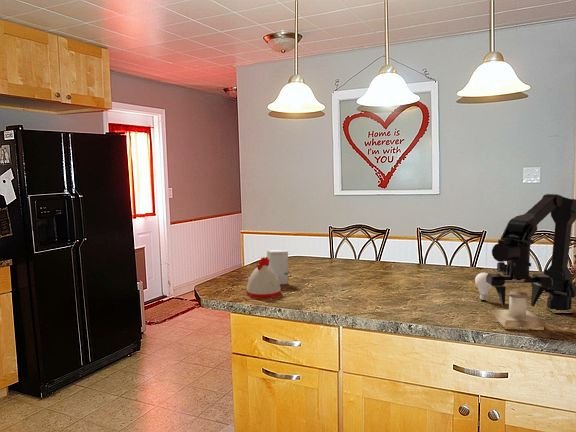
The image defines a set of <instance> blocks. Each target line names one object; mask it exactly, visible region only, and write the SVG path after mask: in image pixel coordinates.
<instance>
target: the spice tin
mask: <svg viewBox="0 0 576 432" xmlns="http://www.w3.org/2000/svg"><path fill="white" fill-rule="evenodd" d="M527 298H528V293H527V292H525V291H523V292H522V291H516V290H515V291H514V290H513V291H509V298H508V299H509V303H508V310H509V315H511V316H513V317H526V310H527V304H528V303H527V302H528V299H527Z"/></svg>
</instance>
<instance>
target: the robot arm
mask: <svg viewBox="0 0 576 432" xmlns="http://www.w3.org/2000/svg"><path fill="white" fill-rule="evenodd" d="M549 214H550V217H551V218H552V219H551V220H553V223H554V233H553V243H552V253H551V262H550V263H551V264H550V266H549V267H548V268H547V269H544V271H543V273H533V274H532V276H531V275H530V267H532V263H531V262H530V260H531V259H530V257H531V245H532V244H534V243H535V241H534V240H533V239H531V238H533V236H534V235H535V234H536V232H537V231H538V225H539V223H541V222H542V221H543V220H544V219H545V218H546V217H548V215H549ZM575 222H576V199H575V198H568V197H565V196H562V195H560V194H557V193H556V194H554V193H546V194H543V196H542V197H541V199H540V200H539V201H537V203H535V205H533V206H532V207H530V209H529V210H528V211H526V212H525V213H523V214H519V215H516V216H514V217H513V218H511V219H510V220H509V221H508V223H507V225H506V227H504V228H505V229H504V231H503V233H502V235H501V237H500V239H498V240H497V241H498V242H497V243H496V244H495V245H494V246H493V247H492V249H491V255H492V258H494V260H495V261H497V263H496V271H497V272H498V273H488V275H487V276H486V282H487V283H489V284H490V285H492V286H491V287H493V288H495V291H496V292H497V295H498V297H499V301H500V304H501V306H502V307H505V303H506V291H507V290H506V286H505V284H506V283H507V284H508V283H513V284H516V283H518V284H519V283H522V284H526V283H529V284H531V285H530V286H531V298H530V304H531V305H530V306H531V307H535V305H536V304H537V302H538V300H539V298H540V297H541V295H542V294H543V293H544V292H545V293H546V294H548V296H547V298H546V299H547V300H546V307H548V308H550V309H556V310H569V309H571V310H572V303H573V302H572V299H573V298H576V285H575V284H574V282H573V274H572V272H571V270H570V269H569V267H568V266H569V258H570V257H569V255H570V245H571V236H572V235H571V234H572V227H573V224H574V223H575ZM505 262H507V264H505ZM500 273H502V274H500Z"/></svg>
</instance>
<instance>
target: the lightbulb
mask: <svg viewBox="0 0 576 432" xmlns="http://www.w3.org/2000/svg"><path fill="white" fill-rule="evenodd" d="M488 274H489V273H488V272H479V273H478V274H476V275H475V278H474V283H475V285H476V287H477V288H478V292H479V300H480V299H482V300H486V299H487V300H488V293H489V292H490V289H491V288H492V287H493V286H492V285H490V284H489V283H487V282H486V276H487V275H488ZM487 300H486V301H487Z"/></svg>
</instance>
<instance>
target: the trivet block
mask: <svg viewBox="0 0 576 432" xmlns="http://www.w3.org/2000/svg"><path fill="white" fill-rule="evenodd" d="M490 315H492V316H493V317H495V318H496V319H497V320H498V321H499V322H500V323H501V324H502V325H503V326H505V327H528V326H529V327H533V326H534V327H545V328H546V322H544V320H543V319H541V318H540V317H539V316H538V315H536V314H535V313H533V312H531V311H530V310H529V309H526V317H513V316H511V315H509V309H492V310H491V313H490Z"/></svg>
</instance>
